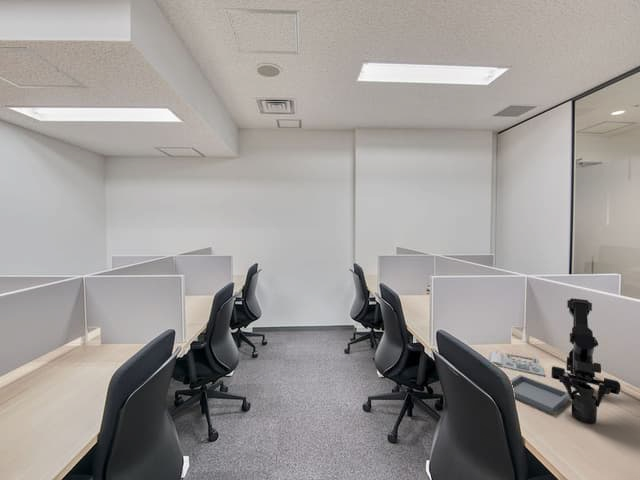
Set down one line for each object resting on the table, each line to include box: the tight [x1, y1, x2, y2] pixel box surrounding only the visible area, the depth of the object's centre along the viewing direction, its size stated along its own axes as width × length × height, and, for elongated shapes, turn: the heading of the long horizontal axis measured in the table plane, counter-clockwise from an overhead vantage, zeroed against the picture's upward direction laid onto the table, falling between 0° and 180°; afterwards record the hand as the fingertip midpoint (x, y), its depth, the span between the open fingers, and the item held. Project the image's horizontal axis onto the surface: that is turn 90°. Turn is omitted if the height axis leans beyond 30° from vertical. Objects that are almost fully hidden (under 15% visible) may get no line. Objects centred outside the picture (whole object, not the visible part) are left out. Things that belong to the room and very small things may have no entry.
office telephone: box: [488, 350, 546, 377], centre depth 149 cm, size 23×3×20 cm
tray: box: [510, 374, 571, 416], centre depth 118 cm, size 18×18×3 cm
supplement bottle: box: [570, 383, 598, 425], centre depth 104 cm, size 7×7×12 cm
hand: (584, 402), depth 103 cm, fingers closed on supplement bottle, 7 cm apart
